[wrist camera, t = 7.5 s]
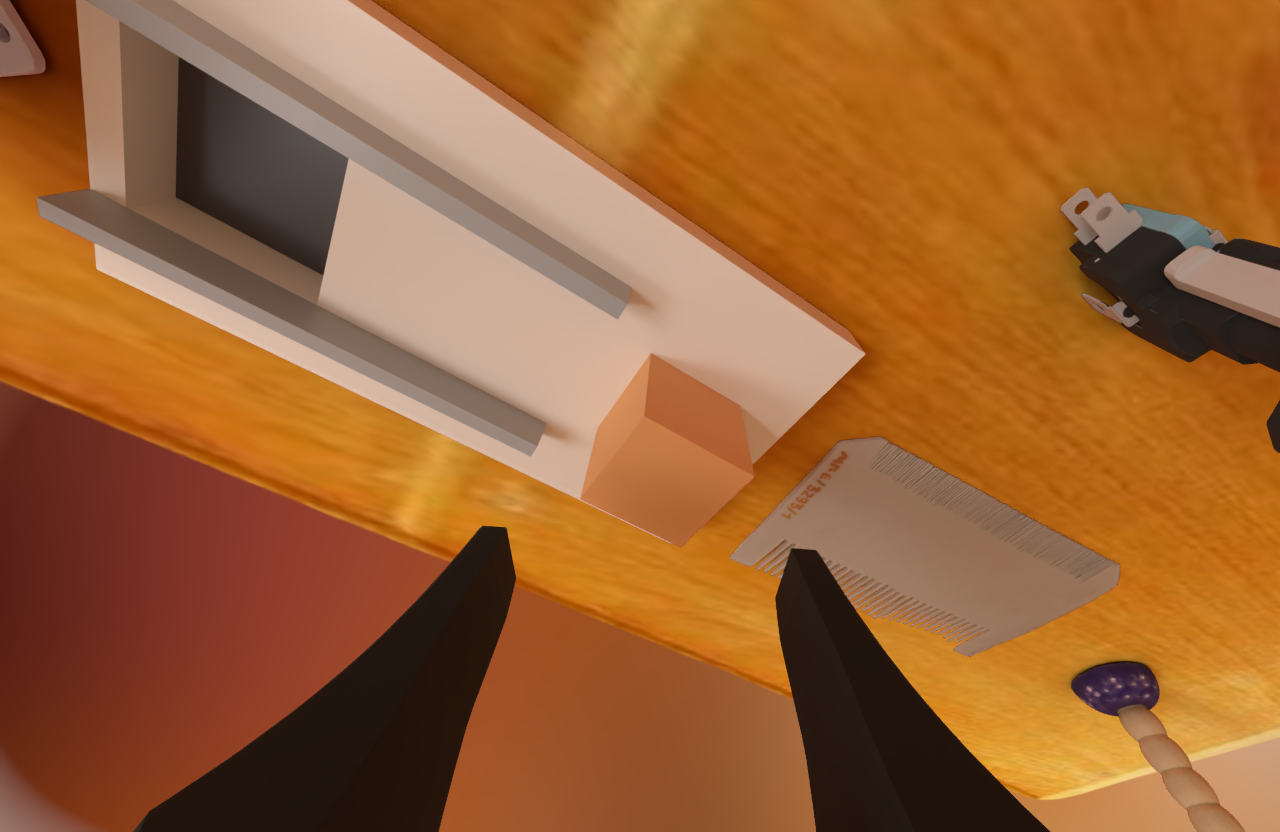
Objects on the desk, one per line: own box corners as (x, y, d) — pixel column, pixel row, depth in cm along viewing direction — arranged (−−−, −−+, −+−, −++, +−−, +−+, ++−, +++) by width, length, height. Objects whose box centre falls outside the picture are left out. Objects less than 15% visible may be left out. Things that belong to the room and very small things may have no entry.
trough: (149, 253, 18) (48, 283, 15) (146, -155, 12) (-25, -237, 9) (672, 513, 24) (671, 570, 21) (848, 330, 18) (881, 375, 15)
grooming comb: (724, 551, 26) (725, 562, 25) (853, 418, 21) (859, 428, 20) (969, 652, 30) (976, 665, 29) (1129, 563, 25) (1142, 575, 24)
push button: (984, 261, 16) (1303, 433, 8) (1156, 108, 13) (1907, 128, 5) (1091, 364, 18) (1442, 591, 10) (1262, 247, 15) (1942, 425, 7)
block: (597, 428, 19) (580, 499, 15) (650, 352, 17) (644, 416, 13) (680, 472, 20) (680, 547, 16) (740, 405, 18) (754, 476, 14)
